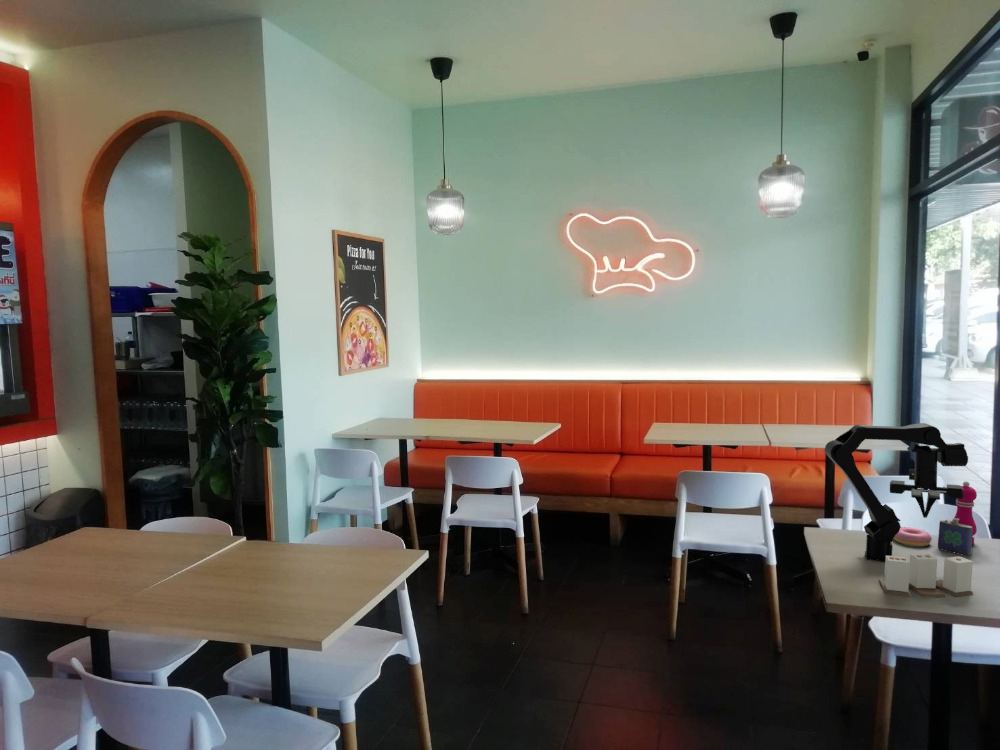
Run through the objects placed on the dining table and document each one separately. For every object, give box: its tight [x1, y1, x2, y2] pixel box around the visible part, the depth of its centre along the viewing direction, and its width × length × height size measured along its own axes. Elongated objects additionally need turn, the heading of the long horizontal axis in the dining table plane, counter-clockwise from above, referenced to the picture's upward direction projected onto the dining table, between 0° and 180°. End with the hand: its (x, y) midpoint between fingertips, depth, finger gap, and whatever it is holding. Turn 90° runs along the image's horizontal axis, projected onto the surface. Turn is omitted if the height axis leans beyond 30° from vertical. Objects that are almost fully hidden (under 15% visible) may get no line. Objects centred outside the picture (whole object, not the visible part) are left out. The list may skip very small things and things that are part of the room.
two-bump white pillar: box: [909, 553, 938, 588], centre depth 192 cm, size 4×5×8 cm
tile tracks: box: [878, 578, 974, 598], centre depth 192 cm, size 22×16×1 cm
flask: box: [937, 517, 973, 556], centre depth 221 cm, size 9×3×11 cm, turn 37°
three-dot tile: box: [884, 555, 910, 592], centre depth 190 cm, size 4×5×8 cm
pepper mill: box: [951, 480, 978, 545], centre depth 230 cm, size 7×7×20 cm
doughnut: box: [893, 526, 933, 547], centre depth 230 cm, size 11×11×4 cm
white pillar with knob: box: [942, 556, 974, 593], centre depth 189 cm, size 4×5×8 cm
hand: (925, 517), depth 213 cm, fingers closed
